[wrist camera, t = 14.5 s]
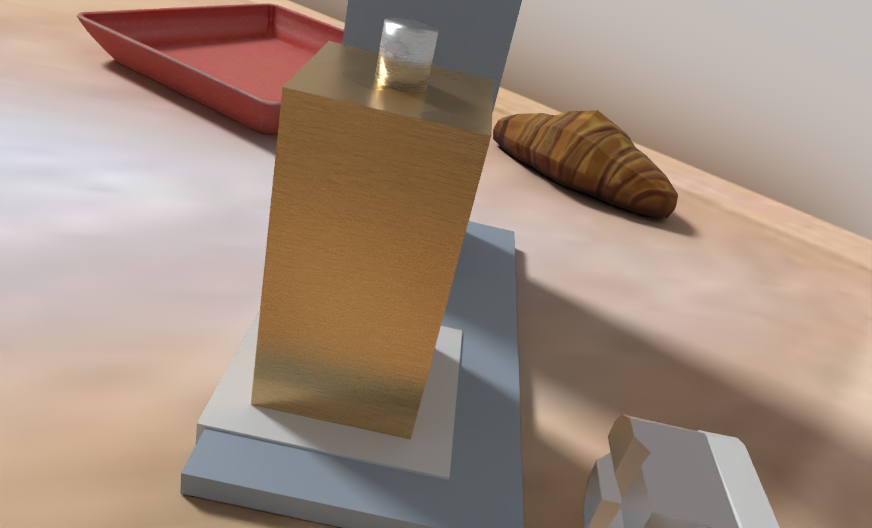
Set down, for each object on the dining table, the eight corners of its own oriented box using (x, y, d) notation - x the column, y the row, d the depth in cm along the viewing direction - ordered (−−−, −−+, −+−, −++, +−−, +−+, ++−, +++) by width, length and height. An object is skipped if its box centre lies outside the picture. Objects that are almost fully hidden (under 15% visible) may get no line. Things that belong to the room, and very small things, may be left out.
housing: (410, 439, 21) (507, 73, 16) (250, 405, 21) (289, 21, 15) (425, 343, 26) (506, 28, 20) (293, 313, 25) (335, -12, 20)
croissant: (463, 151, 46) (481, 78, 44) (517, 136, 51) (535, 70, 49) (644, 241, 40) (677, 162, 38) (685, 214, 45) (717, 143, 43)
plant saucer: (72, 59, 46) (69, 8, 45) (269, 39, 60) (272, -1, 59) (266, 159, 39) (271, 103, 38) (438, 110, 53) (447, 68, 52)
